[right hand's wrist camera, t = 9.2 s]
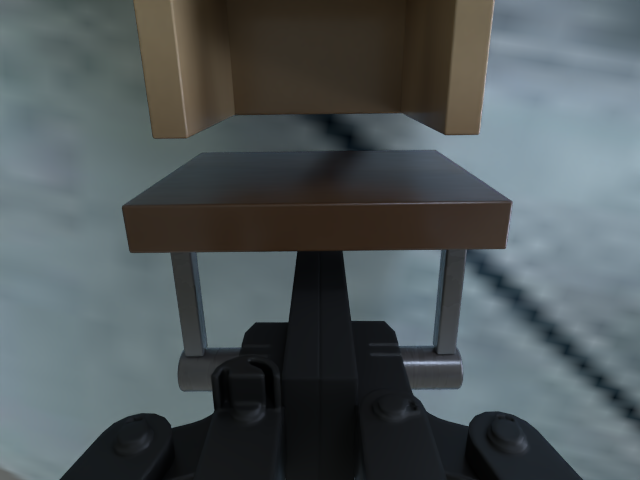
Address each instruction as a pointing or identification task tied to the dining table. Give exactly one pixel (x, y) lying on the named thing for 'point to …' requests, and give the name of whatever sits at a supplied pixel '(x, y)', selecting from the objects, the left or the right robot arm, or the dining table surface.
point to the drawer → (316, 166)
